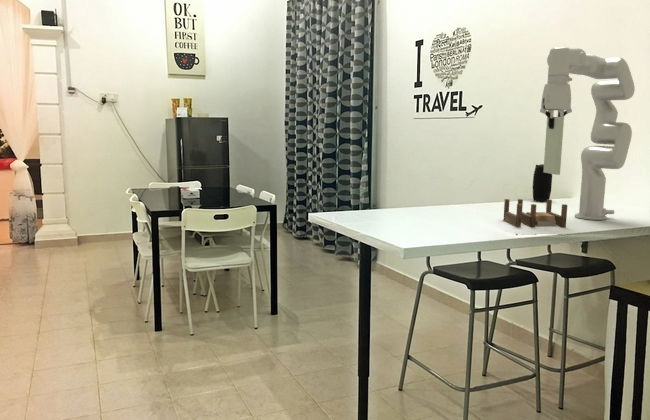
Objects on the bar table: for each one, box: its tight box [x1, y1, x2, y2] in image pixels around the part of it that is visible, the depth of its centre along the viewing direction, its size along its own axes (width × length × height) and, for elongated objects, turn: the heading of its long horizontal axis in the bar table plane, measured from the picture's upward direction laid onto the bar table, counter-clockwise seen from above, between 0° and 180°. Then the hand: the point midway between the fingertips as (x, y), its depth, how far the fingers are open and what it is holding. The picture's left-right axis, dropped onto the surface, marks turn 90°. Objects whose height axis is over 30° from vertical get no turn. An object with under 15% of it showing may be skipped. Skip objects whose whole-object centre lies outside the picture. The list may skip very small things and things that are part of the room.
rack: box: [503, 198, 568, 228], centre depth 224 cm, size 19×16×10 cm
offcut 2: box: [535, 221, 557, 227], centre depth 224 cm, size 8×10×2 cm
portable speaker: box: [532, 163, 553, 203], centre depth 298 cm, size 9×9×20 cm
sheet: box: [543, 116, 565, 176], centre depth 220 cm, size 2×11×22 cm, turn 1°
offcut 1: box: [525, 211, 555, 221], centre depth 224 cm, size 8×10×2 cm
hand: (554, 128), depth 219 cm, fingers closed on sheet, 2 cm apart
